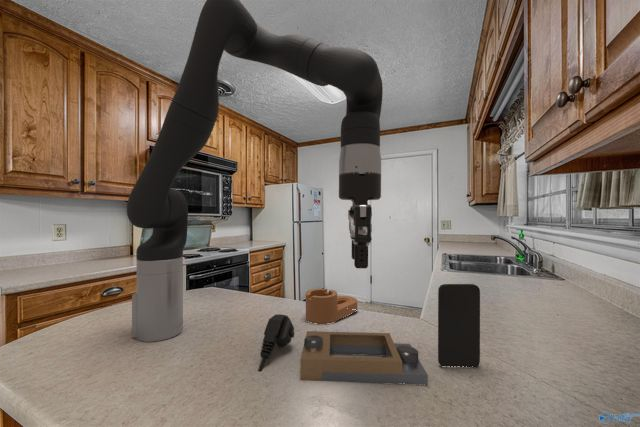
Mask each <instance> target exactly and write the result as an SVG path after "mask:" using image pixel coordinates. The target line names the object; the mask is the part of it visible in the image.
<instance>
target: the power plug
mask: <svg viewBox="0 0 640 427" xmlns="http://www.w3.org/2000/svg"><path fill="white" fill-rule="evenodd" d="M294 330H295V327H294V325H293V323H292V320H291V318H290V317H289V316H288V315H285V314H274V315H273V316H272V317H271V318H269V319H268V321H267V323H266V327H265V329H264V333H263V335H264V338H263V340H262V345H261V351H260V357H261V361H260V365H259V366H258V370H257V372H262V371H263V369H264V366H265V363H266V360H269V359H270V357H271V355H272V353H273V351H274V349H275V348H276V346H277V348H283V347H286V346H287V345H289V344H290V343H291V342H292V339H293V338H294V336H295V331H294Z"/></svg>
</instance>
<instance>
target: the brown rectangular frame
mask: <svg viewBox="0 0 640 427" xmlns="http://www.w3.org/2000/svg"><path fill="white" fill-rule="evenodd" d="M394 343H395V342H394V340H393V338H392V336H391V334H390V333H389V332H358V331H357V332H355V331H320V330H319V331H317V330H315V331H313V330H312V331H311V330H306V334H305V337H304V340H303V347H302V351H301V354H300V362H299V363H300V365H299V367H300V369H299V371H300V374H299V378H300V381H311V382H312V381H315V382H316V381H317V382H318V381H319V382H323V381H322V372H340V373H372V374H402V360H401V358H400V356H399V353H398V351H397V349H396V347H395V344H394ZM330 344H332V345H370V346H385V349H386V352H387V354H388V357H389V358H385V357H378V356H377V357H374V356H373V357H370V356H368V357H367V356H342V355H341V356H339V355H338V356H337V355H331V354H330Z"/></svg>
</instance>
